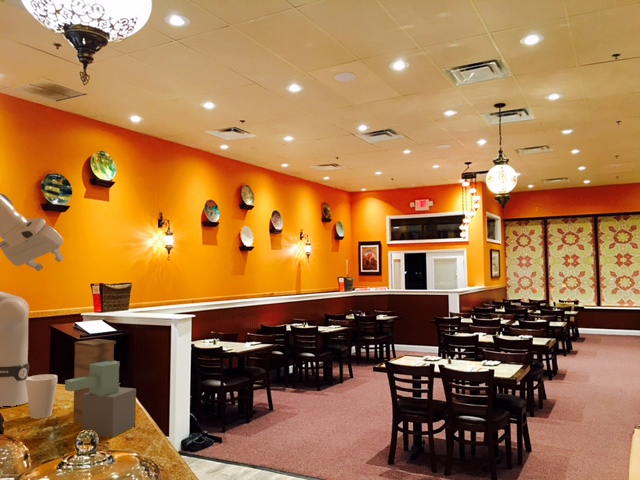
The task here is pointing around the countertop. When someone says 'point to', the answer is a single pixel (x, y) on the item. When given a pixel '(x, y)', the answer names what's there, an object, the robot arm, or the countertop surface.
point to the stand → (88, 366)
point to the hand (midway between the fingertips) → (51, 264)
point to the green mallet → (98, 379)
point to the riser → (109, 412)
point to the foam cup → (41, 395)
